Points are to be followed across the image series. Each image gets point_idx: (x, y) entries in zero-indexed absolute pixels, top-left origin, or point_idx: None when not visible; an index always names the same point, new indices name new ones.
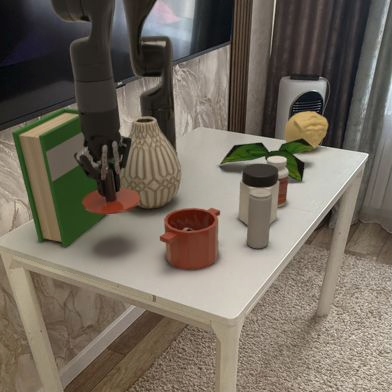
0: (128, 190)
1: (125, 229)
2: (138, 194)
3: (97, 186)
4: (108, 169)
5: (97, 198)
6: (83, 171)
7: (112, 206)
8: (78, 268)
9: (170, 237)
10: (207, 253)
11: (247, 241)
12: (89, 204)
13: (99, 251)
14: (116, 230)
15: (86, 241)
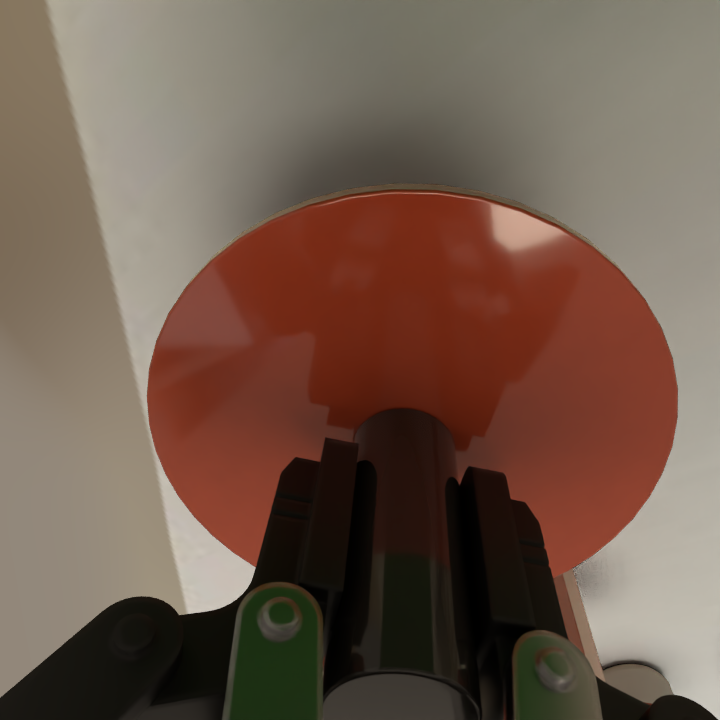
0: (626, 484)
1: (615, 188)
2: (570, 568)
3: (268, 523)
4: (450, 715)
5: (360, 342)
6: (8, 691)
7: None
8: (106, 214)
9: None
10: None
11: (609, 681)
12: (217, 348)
13: None
14: (585, 140)
15: (369, 41)
